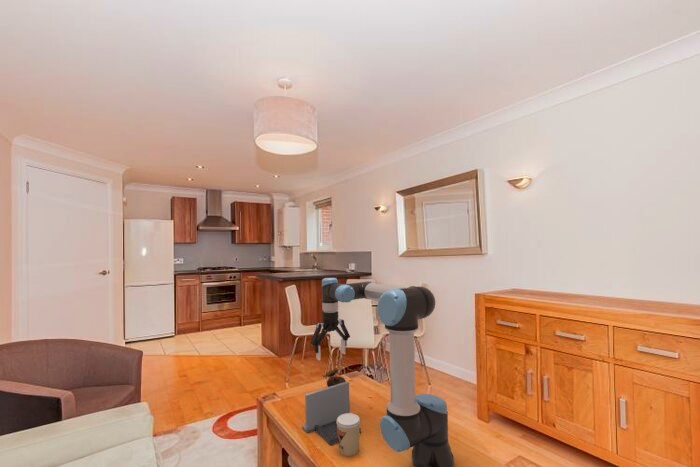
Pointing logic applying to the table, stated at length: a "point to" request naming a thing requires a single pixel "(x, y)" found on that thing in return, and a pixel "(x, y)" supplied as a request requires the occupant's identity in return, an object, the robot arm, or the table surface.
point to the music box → (333, 378)
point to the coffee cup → (348, 433)
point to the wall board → (326, 405)
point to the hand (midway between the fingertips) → (331, 356)
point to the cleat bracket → (329, 433)
